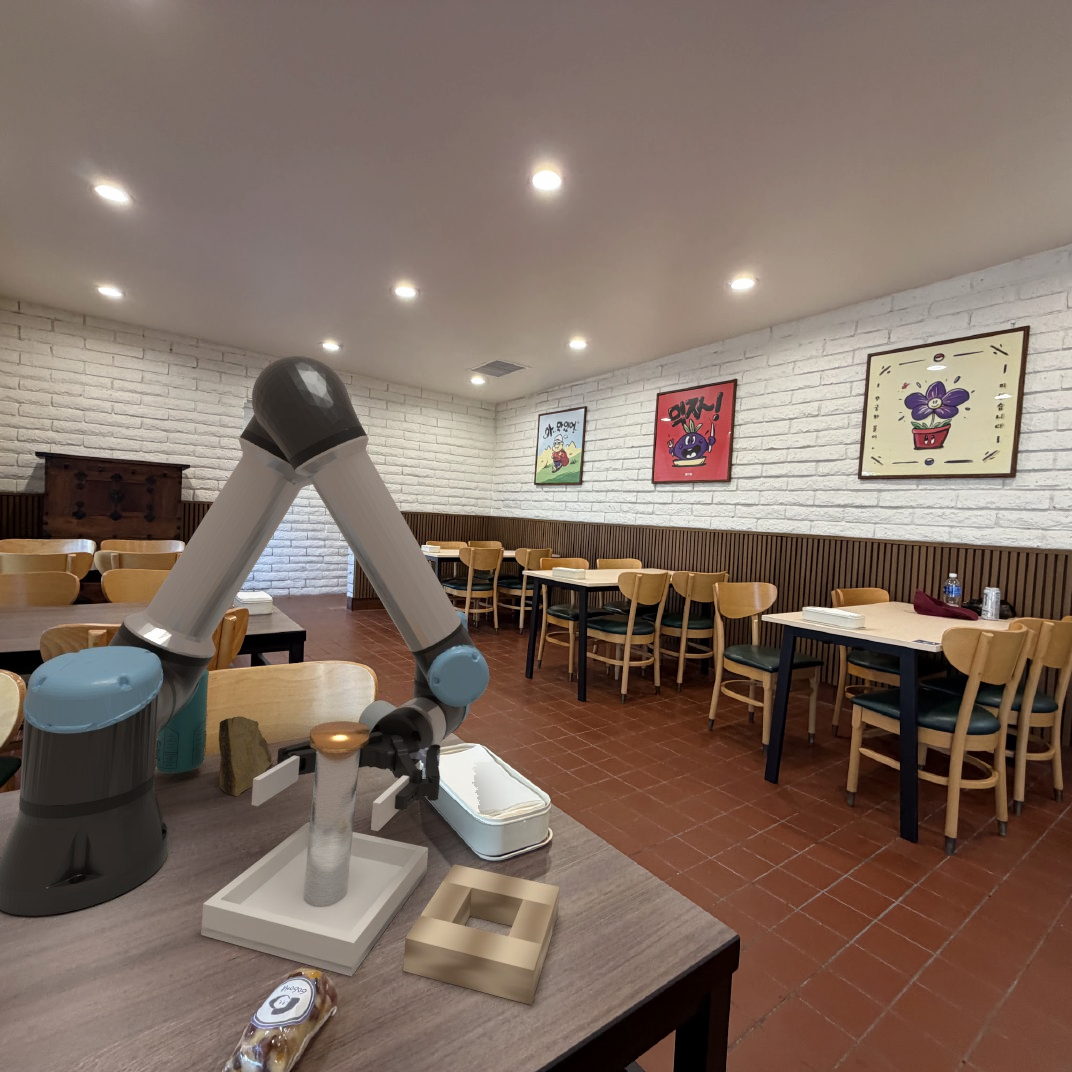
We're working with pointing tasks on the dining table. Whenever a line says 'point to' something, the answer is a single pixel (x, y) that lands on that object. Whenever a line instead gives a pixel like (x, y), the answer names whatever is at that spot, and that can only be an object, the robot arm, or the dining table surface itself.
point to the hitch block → (484, 933)
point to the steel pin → (332, 809)
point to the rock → (241, 754)
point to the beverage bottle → (185, 735)
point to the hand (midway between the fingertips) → (313, 804)
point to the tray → (316, 931)
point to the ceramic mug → (375, 713)
